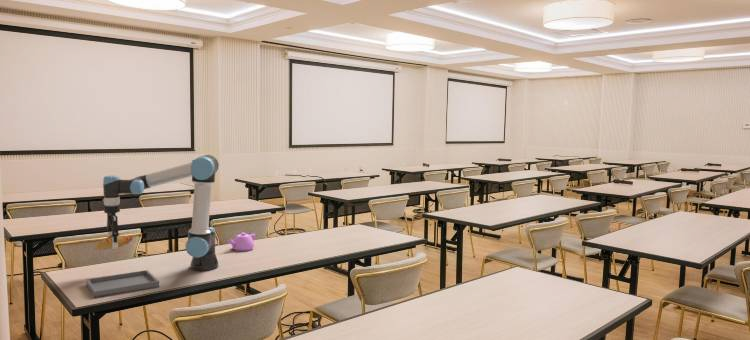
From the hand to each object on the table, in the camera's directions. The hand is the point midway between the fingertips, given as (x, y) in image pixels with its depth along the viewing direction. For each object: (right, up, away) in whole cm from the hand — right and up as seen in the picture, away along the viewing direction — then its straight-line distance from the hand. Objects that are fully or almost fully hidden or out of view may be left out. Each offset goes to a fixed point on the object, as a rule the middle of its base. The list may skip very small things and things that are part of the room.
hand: (113, 245), depth 277 cm
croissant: (0, -1, 0) cm, 1 cm away
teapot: (+53, -11, +61) cm, 82 cm away
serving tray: (+13, -18, -16) cm, 27 cm away
